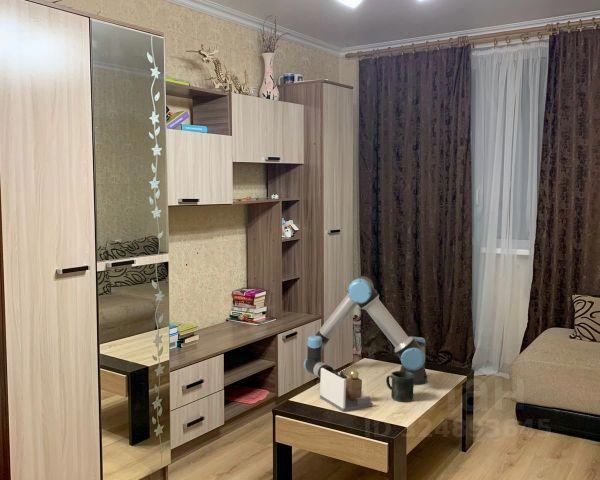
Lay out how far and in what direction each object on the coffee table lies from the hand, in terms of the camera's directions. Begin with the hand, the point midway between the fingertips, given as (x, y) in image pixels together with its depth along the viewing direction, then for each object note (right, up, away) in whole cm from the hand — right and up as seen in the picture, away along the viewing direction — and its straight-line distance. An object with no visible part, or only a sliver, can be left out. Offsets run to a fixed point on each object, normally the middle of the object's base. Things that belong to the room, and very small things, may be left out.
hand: (350, 385), depth 290 cm
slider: (+1, -5, -2) cm, 6 cm away
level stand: (-2, -7, -3) cm, 8 cm away
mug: (+24, -8, +5) cm, 26 cm away
